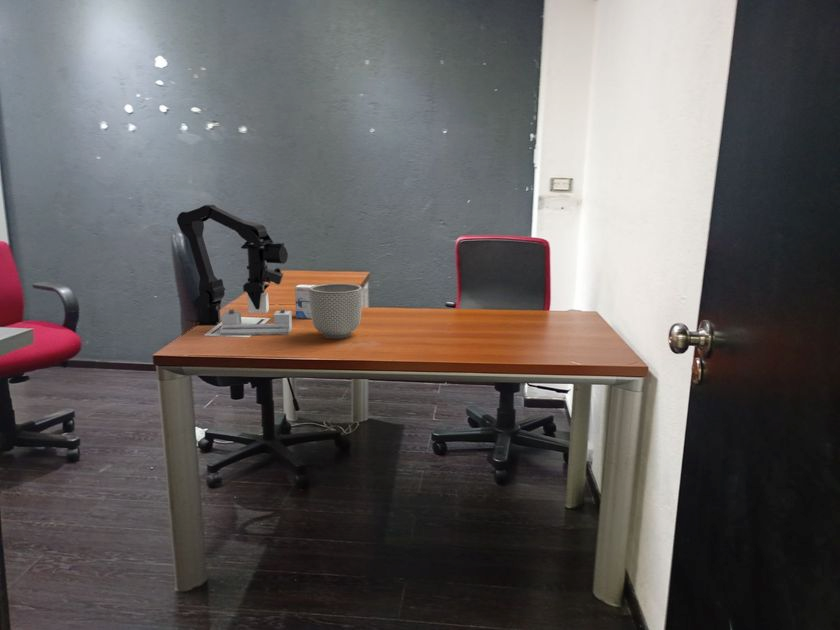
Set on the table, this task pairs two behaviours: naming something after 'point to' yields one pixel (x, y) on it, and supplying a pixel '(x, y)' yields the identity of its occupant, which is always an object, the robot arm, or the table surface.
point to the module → (263, 304)
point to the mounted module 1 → (231, 317)
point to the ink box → (302, 301)
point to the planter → (336, 308)
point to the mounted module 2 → (283, 317)
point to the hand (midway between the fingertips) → (258, 307)
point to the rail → (255, 329)
